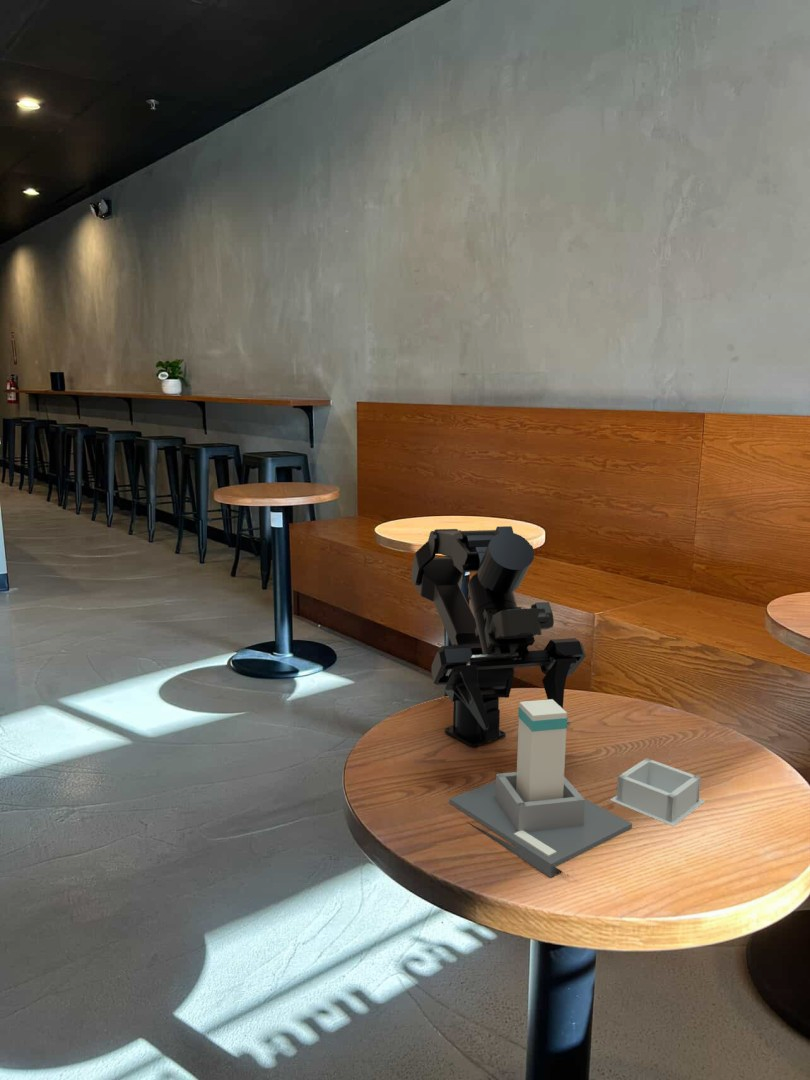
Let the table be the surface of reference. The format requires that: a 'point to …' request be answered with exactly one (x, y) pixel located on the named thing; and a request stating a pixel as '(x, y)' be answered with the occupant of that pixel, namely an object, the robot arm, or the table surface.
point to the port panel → (550, 837)
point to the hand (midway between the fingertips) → (523, 725)
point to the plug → (541, 750)
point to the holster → (659, 791)
